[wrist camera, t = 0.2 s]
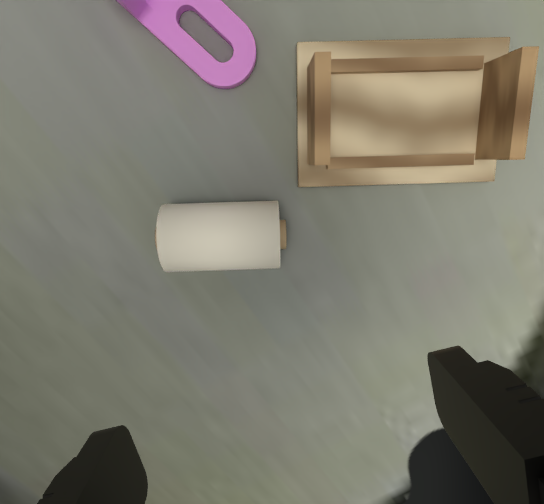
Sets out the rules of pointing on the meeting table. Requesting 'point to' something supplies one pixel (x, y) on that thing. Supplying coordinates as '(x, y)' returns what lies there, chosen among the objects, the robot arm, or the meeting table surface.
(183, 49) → the bracket
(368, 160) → the cradle
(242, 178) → the meeting table surface
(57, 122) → the meeting table surface
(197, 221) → the roll
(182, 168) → the meeting table surface
